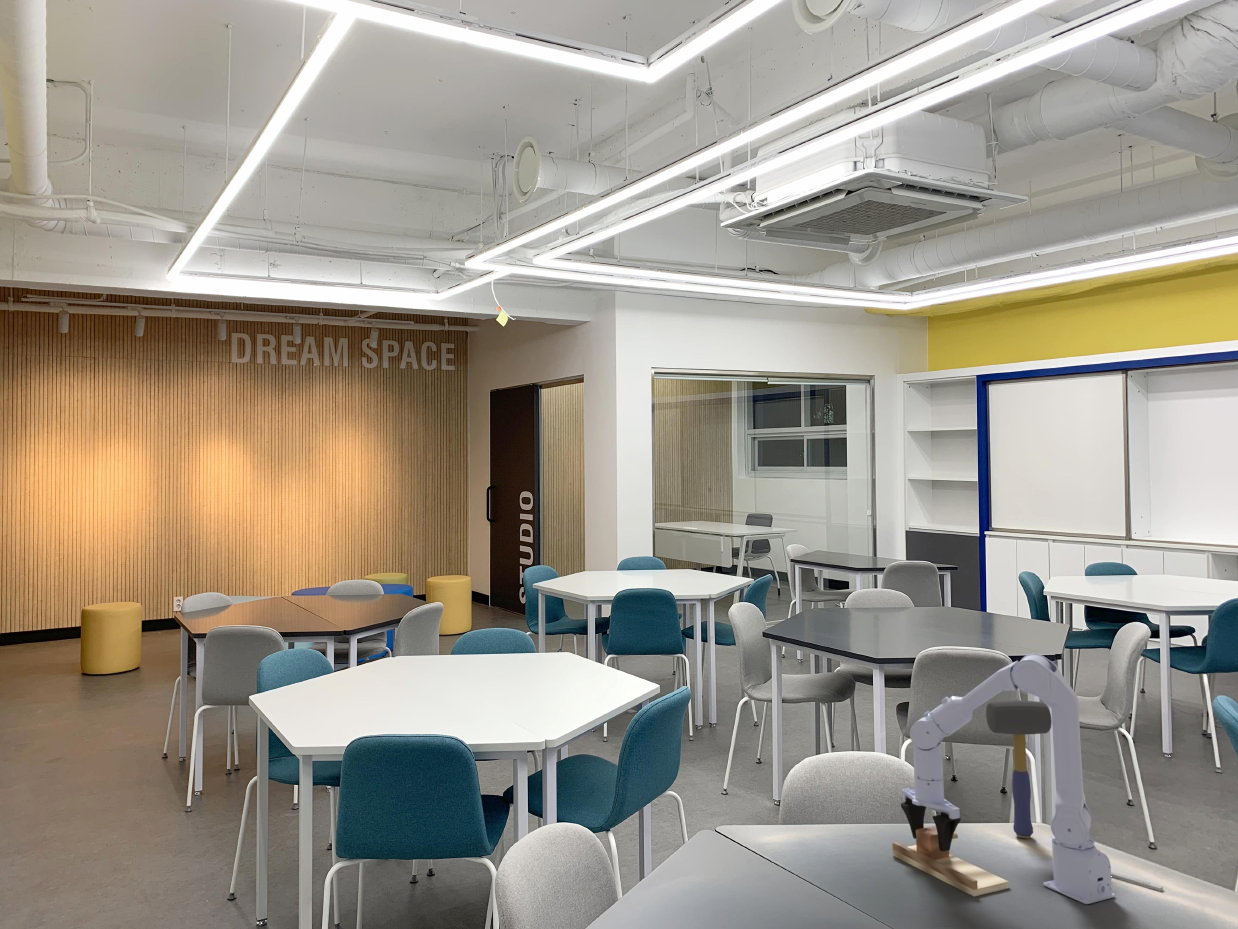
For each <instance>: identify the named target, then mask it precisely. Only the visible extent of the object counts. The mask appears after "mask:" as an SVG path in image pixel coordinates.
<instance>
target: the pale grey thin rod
mask: <svg viewBox="0 0 1238 929" xmlns="http://www.w3.org/2000/svg"><path fill="white" fill-rule="evenodd" d="M1111 876H1112V877H1111V878H1113V877H1114V878H1113V879H1116V878H1118V879H1117V880H1120V879H1121V880H1120V881H1123V880H1124V881H1123V882H1126V881H1127V882H1126V883H1131V884H1134V885H1136V884H1137V886H1140V885H1141V886H1140V887H1143V886H1144V887H1143V888H1147V887H1148V888H1147V889H1150V888H1152V889H1151V890H1153V889H1155V890H1154V891H1157V890H1158V891H1157V892H1160V891H1161V892H1162V891H1164V886H1162V885H1158V884H1157V883H1156V884H1155V883H1151V882H1149V881H1145V880H1141V879H1138V878H1136V877H1135V878H1134V877H1132V876H1128V875H1125V874H1122V873H1117V872H1115V871H1111Z"/></svg>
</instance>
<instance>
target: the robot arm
mask: <svg viewBox="0 0 1238 929" xmlns="http://www.w3.org/2000/svg"><path fill="white" fill-rule="evenodd" d="M1018 689H1020V690H1022V691H1024V692H1025V693H1027V694H1029V695H1032V696H1035V697H1037V698H1038V699H1040V700H1041V702H1044V703H1045V704H1046V705H1047V706H1048V708H1050V709H1051V710H1050V711H1051V720H1052V722H1051V728H1052V742H1053V743H1052V745H1053V759H1054V761H1053V762H1054V775H1055V776H1054V778H1055V802H1054V803H1055V805H1054V808H1055V811H1054V816H1053V817H1052V819H1051V822H1050V830H1051V834H1052V835H1051V848H1052V849H1051V850H1052V874H1053V879H1052V880H1048V881H1047V880H1046V881H1044V882H1042V885H1043V886H1045V887H1047V888H1048V889H1050V890H1053V891H1055V892H1058V893H1060V894H1063V895H1065V896H1067V897H1069V898H1071V899H1073V900H1076V901H1078V902H1080V903H1082V904H1085V905H1089V904H1093V903H1094V904H1095V903H1096V902H1097V903H1098V902H1101V901H1104V900H1108V899H1111V898H1115V897H1116V894H1115V893H1114V892H1113V890H1112V888H1113V886H1112V877H1111V872H1112V867H1111V861H1110V859H1109V857H1108V856H1107V854H1106V853H1103V851H1100V850H1099V849H1098V848H1097V847H1096V845H1095V840H1094V839H1093V838H1092V836H1091V834H1090V833H1089V832H1090V829H1091V826H1092V823H1093V815H1092V812H1091V811H1090V809H1089V807H1088V805H1087V802H1086V794H1085V792H1084V779H1083V765H1082V764H1083V762H1082V761H1083V760H1082V746H1081V745H1082V744H1081V730H1080V729H1081V728H1080V726H1081V725H1080V713H1079V712H1080V711H1079V710H1080V709H1079V698H1078V695H1077V693H1076V692H1075V691H1074V689H1073V688H1072V687H1071V685H1070V684H1069V682H1068V681H1067V679H1066V678H1065V677H1064V675H1063V673H1062V672H1061V670H1060V669H1059V667H1058V665H1056V663H1054V662H1053V661H1052V660H1050V659H1048V658H1047V657H1045V656H1044V655H1042V654H1039V653H1029V654H1027V655H1025V656H1023V657H1022V658H1021V659H1020V661H1019V660H1016V661H1014V662H1012V663H1010V664H1007V665H1005V666H1004V667H1002V668H1000V669H999V670H997V671H996V672H995V673H993V674H992V675H990V676H989V677H988V678H987V679H985V680H984V681H982V682H981V683H980V684H979V685H977V686H976V687H975V688H973V689H972V690H970V691H969V692H968V693H967V694H965V695H964V696H957V695H956V696H955V695H952V696H950V697H948V696H946V697H944V698H943V699H941V701H940V702H941V704H939V705H938V706H936V708H933V709H932V710H931V711H929V710H927V711H926V712H924V713H923V716H924V717H921V718H920V719H919V720H916V721H915V722H914V723H913V724H912V726H911V727H910V730H909V737H910V740H911V742H912V744H913V775H914V776H913V777H914V789H911V788H909V787H908V788H903V789H901V799H902V800H905V801H904V802H901V803H900V807H901V809H902V811H903V812H904V814H905V816H906V818H907V821H908V824H909V827H910V831H911V832H910V833H911V835H912V838H913V839H914V840H916V830H917V829H922V828H925V824H924V822H925V815H926V809H930V810H932V811H935V812H937V813H940V814H937V815H933V816H932V819H933V822H934V826H935V827H936V829H937V833H938V842H939V848H940V851H948V850H949V851H950V850H951V845H952V841H953V839H952V838H953V834H954V833H955V831H956V830H957V827H958V825H959V824H960V821H962V820H961V815H960V814H961V813H960V812H961V811H960V808H959V807H957V806H955V805H954V804H952V803H951V802H950V801H948V800H947V799H946V798H945V791H944V790H945V789H944V788H945V787H944V764H943V763H944V762H943V761H944V760H943V759H944V758H943V753H942V752H943V751H942V749H943V748H942V741H943V740H944V738H946V737H947V738H948V737H949V736H951V735H953V733H956V732H957V731H958V730H960V729H961V728H962V727H964V726H965V725H967V724H968V723H969V722H971V721H972V720H973V714H974V712H973V711H974V710H976V709H977V708H978V707H980V706H982V705H984V704H985V703H987V702H988V701H989V700H991V699H992V698H993V697H995V696H997V695H998V694H1001V693H1002V692H1004V691H1005V692H1006V691H1007V692H1008V691H1009V692H1016V691H1017V690H1018Z"/></svg>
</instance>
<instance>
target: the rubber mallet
mask: <svg viewBox="0 0 1238 929" xmlns="http://www.w3.org/2000/svg"><path fill="white" fill-rule="evenodd" d="M985 714H986V715H985V718H986V723H987V726H988V728H989V730H990V731H991V732H992V733H994V734H1005V735H1012V736H1013V738H1012V739H1013V744H1012V745H1013V766H1014V767H1013V773H1012V779H1011V780H1012V782H1011V786H1012V787H1011V789H1012V790H1011V791H1012V792H1011V793H1012V799H1013V804H1014V805H1013V806H1014V808H1013V809H1014V821H1013V831H1014V833H1015V835H1016V837H1018V838H1019V839H1030V838H1031V837H1032V835H1033V833H1034V827H1033V824H1032V820H1031V816H1032V815H1031V799H1032V790H1031V780H1030V774H1029V771H1028V768H1027V767H1028V766H1027V751H1026V750H1027V749H1026V735H1040V734H1041V735H1042V734H1048V733H1050V731H1051V729H1052V713H1051V710H1050V707H1049V706H1048V705H1047V704H1046V703H1045V702H1043V701H1036V700H1035V701H1033V700H1018V699H1017V700H1015V699H1013V700H1012V699H1010V700H997V701H995V700H994V701H989V702H988V704H987V705H986V708H985Z"/></svg>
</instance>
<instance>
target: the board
mask: <svg viewBox="0 0 1238 929" xmlns="http://www.w3.org/2000/svg"><path fill="white" fill-rule="evenodd" d="M892 856H893V857H895V858H897V859H898V860H901V861H903V862H905V863H906V864H909V865H910V866H913V867H914V868H916V869H919V870H920V871H923V872H925V873H926V874H928V875H930V876H933V877H935V878H937V879H938V880H941V882H944V883H946V884H949V885H950V886H953V887H954V888H956V889H958V890H960V891H962V892H964V893H966V894H968V895H970V896H972V897H977V896H982V895H986V894H990V893H994V892H999V891H1002V890H1006V889H1007V890H1008V889H1009V888H1010V882H1009V880H1006V879H1005V878H1002V877H1000V876H998V875H995V874H993V873H991V872H989V871H987V870H985V869H983V868H982V867H978V866H976V865H974V864H972V863H970V862H967V861H966V860H963V859H962V858H959V857H957V856H954V855H952V854H950V853H949V857H947V858H942V859H938V860H933V859H931V858H929V857H927V856H925V855H923V854H921V853H919V852H917V847H916V844H914V845H909V846H906V845H904V844H901V843H900V842H897V841H892Z"/></svg>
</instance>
